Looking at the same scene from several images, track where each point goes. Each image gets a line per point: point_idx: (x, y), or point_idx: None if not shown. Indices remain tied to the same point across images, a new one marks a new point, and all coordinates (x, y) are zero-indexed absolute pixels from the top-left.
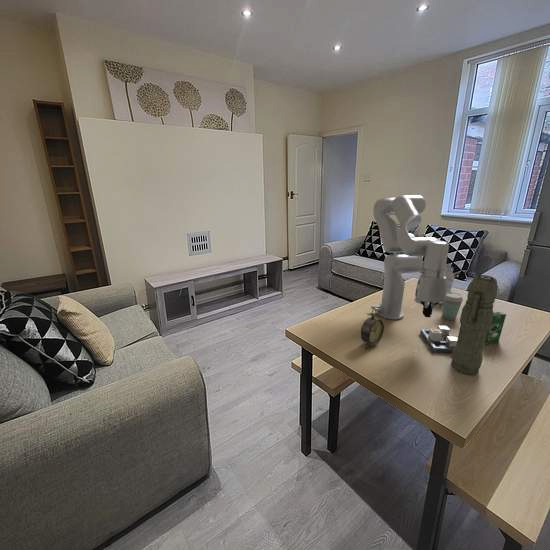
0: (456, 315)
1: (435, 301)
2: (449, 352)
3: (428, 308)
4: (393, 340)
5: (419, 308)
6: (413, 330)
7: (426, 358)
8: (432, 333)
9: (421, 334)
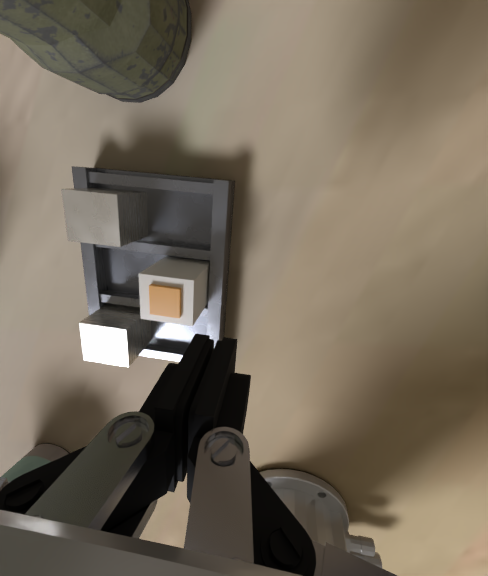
0: (19, 461)
1: (1, 534)
2: (151, 173)
3: (198, 415)
4: (392, 301)
5: (144, 528)
6: None
7: (296, 117)
8: (195, 278)
9: None
